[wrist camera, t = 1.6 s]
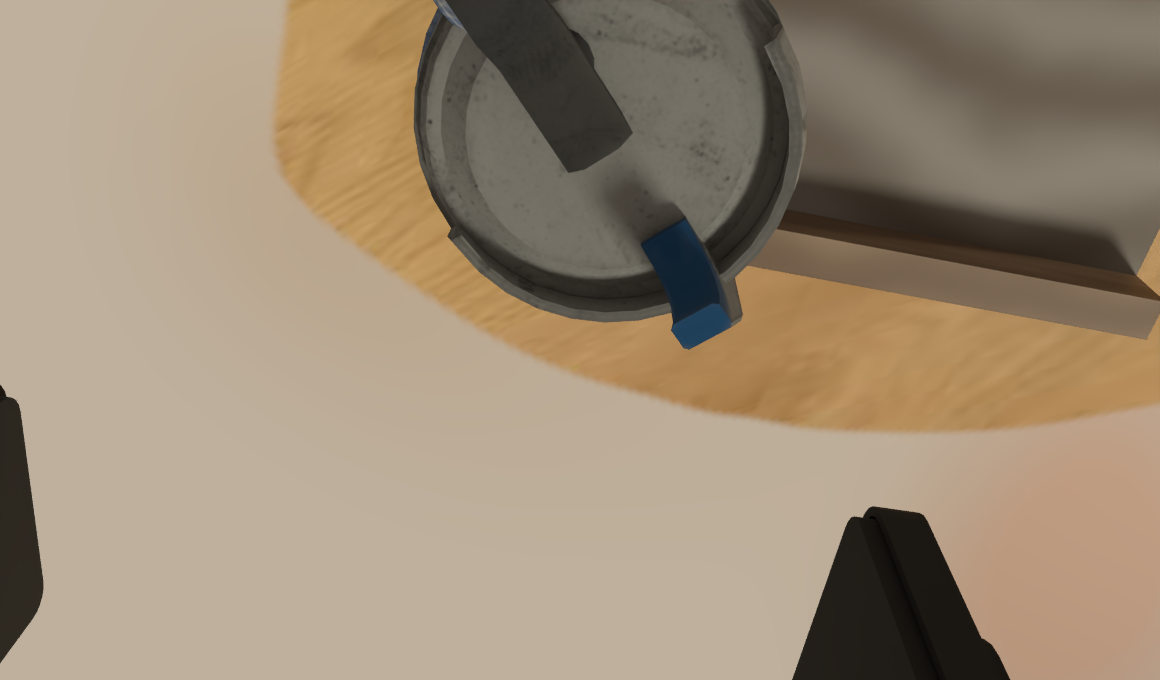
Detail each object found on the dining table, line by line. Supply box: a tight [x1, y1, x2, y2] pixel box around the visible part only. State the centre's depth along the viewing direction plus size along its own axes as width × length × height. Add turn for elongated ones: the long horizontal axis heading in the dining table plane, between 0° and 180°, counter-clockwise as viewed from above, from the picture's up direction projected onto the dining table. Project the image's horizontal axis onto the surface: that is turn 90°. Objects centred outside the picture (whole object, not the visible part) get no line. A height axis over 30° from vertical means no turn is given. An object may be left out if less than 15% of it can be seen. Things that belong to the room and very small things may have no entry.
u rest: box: [747, 0, 1160, 340], centre depth 42 cm, size 21×22×4 cm
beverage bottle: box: [414, 0, 807, 349], centre depth 33 cm, size 10×13×25 cm
